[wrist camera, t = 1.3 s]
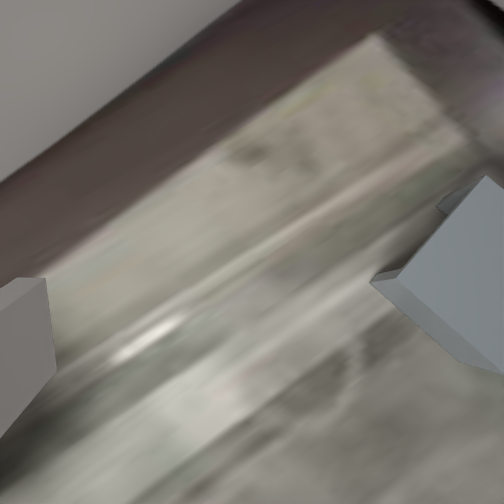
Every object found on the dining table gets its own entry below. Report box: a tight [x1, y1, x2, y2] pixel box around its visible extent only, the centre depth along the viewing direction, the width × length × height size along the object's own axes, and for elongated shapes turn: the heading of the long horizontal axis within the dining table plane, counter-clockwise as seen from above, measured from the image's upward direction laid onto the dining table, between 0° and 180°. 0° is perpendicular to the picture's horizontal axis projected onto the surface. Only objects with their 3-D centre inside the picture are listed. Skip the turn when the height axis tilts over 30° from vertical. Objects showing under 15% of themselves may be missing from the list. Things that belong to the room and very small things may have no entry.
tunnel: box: [369, 175, 504, 375], centre depth 38 cm, size 10×10×8 cm
